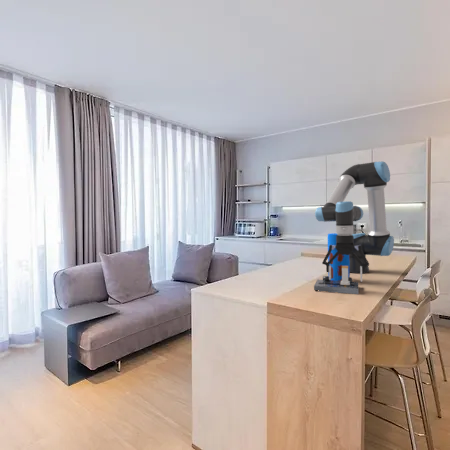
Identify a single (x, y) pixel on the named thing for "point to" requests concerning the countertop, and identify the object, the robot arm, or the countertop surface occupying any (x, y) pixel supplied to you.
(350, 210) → the robot arm
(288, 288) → the countertop surface
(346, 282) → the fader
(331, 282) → the console
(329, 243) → the thermos
